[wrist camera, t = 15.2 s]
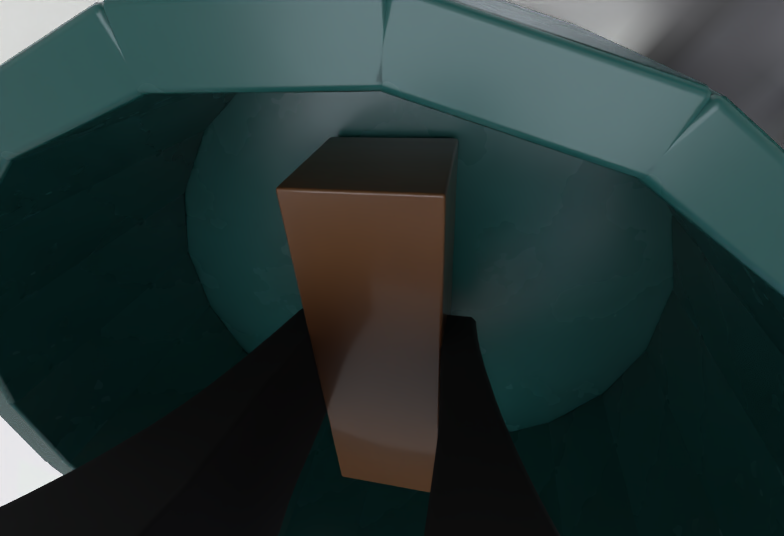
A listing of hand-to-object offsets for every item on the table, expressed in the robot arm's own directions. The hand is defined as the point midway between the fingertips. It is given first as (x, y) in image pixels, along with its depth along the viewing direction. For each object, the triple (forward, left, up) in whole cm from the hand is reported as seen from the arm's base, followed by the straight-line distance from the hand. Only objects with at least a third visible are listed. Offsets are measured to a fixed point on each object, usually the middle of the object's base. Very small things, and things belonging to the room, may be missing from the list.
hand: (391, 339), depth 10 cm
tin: (0, 0, -2) cm, 2 cm away
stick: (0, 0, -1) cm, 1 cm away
